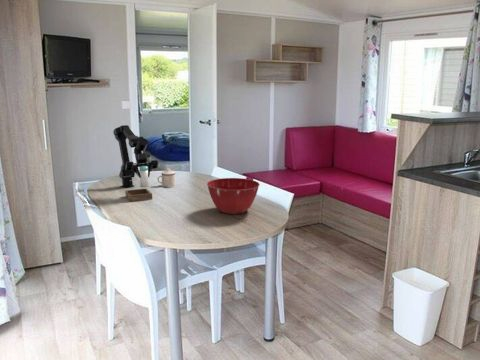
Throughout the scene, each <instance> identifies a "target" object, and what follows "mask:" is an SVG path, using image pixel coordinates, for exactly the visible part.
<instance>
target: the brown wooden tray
mask: <svg viewBox="0 0 480 360" xmlns="http://www.w3.org/2000/svg"><path fill="white" fill-rule="evenodd" d="M124 193H125V197H126V199H127V200H128V201H129V202H130V203H133V202H140V201H149V200H153V193H152V191H150V190H149V189H148V187H146V188H137V189H128V190H124Z"/></svg>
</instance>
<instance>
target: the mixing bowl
mask: <svg viewBox="0 0 480 360" xmlns="http://www.w3.org/2000/svg"><path fill="white" fill-rule="evenodd" d="M206 185H207V189H208V192H209V195H210V199H211V200H212V203H213V204H214V206H215V207H216V208H217V210H219V211H220V212H221V213H224V214H228V215H239V214H242V213H245V212H247V210H249V209H250V208H251V206H252V205H253V203H254V202H255V199H256V197H257V193H258V190H259V188H260V183H259V182H258V181H256V180H252V179H247V178H239V177H226V178H225V177H223V178H222V177H221V178H216V179H212V180H209V181H207V183H206Z"/></svg>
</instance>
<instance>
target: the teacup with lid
mask: <svg viewBox="0 0 480 360" xmlns="http://www.w3.org/2000/svg"><path fill="white" fill-rule="evenodd" d="M160 174H161V175H159V176H158V177H157V182H158V183H159V184H161V186H162V188H173V187H175V186H176V172H175V171H172V170H171V169H170V168H166V170H164V171H162V172H161V173H160ZM160 178H161V181H160V180H159V179H160Z"/></svg>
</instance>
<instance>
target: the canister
mask: <svg viewBox="0 0 480 360" xmlns="http://www.w3.org/2000/svg"><path fill="white" fill-rule="evenodd" d="M138 169H139V172H140V176H141V177H140V178H139V186H140V187H139V188H141V189H146V188H149V177H148V166H140V167H138Z"/></svg>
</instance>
